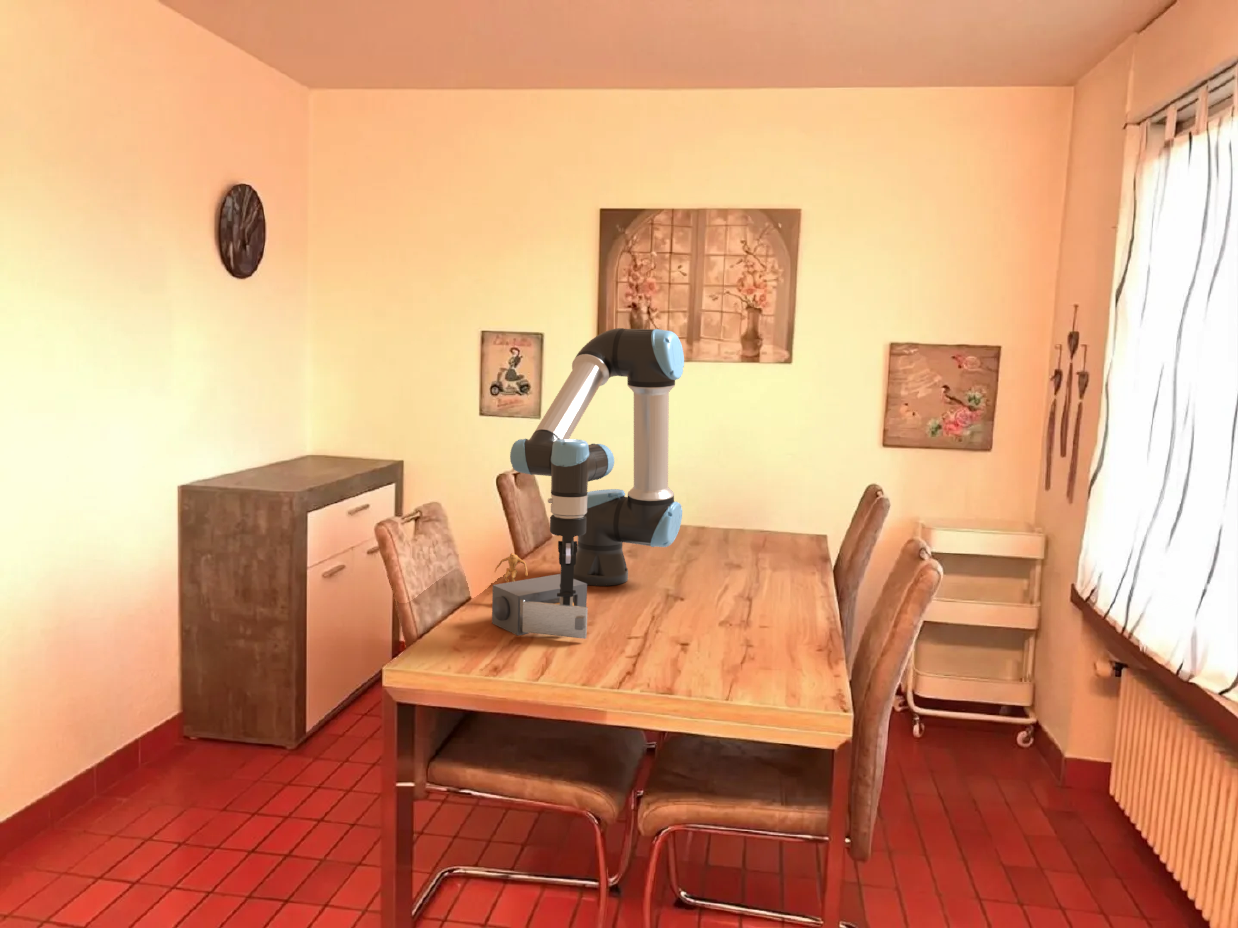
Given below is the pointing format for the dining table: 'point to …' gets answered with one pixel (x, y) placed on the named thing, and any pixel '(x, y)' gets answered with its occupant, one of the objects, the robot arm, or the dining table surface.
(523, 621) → the door
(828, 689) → the dining table surface
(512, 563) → the figurine
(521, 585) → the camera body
